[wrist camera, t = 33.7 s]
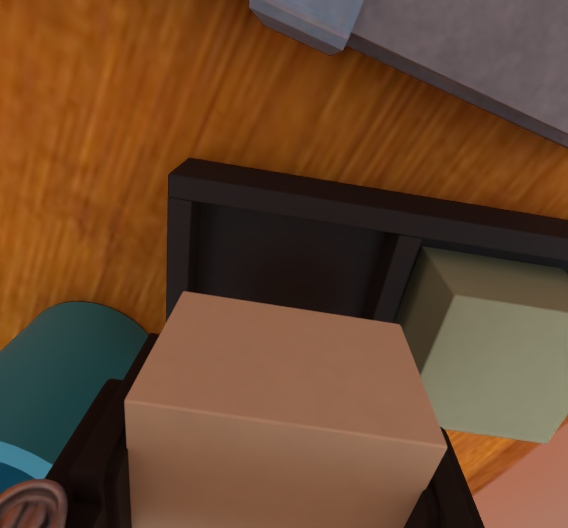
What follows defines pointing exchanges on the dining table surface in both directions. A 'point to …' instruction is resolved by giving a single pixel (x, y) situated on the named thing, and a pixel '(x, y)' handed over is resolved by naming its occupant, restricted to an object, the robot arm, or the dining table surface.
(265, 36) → the dining table surface
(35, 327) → the teal cylinder
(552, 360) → the sage block
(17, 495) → the robot arm
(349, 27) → the book
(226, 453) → the cream block
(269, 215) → the black divided tray
